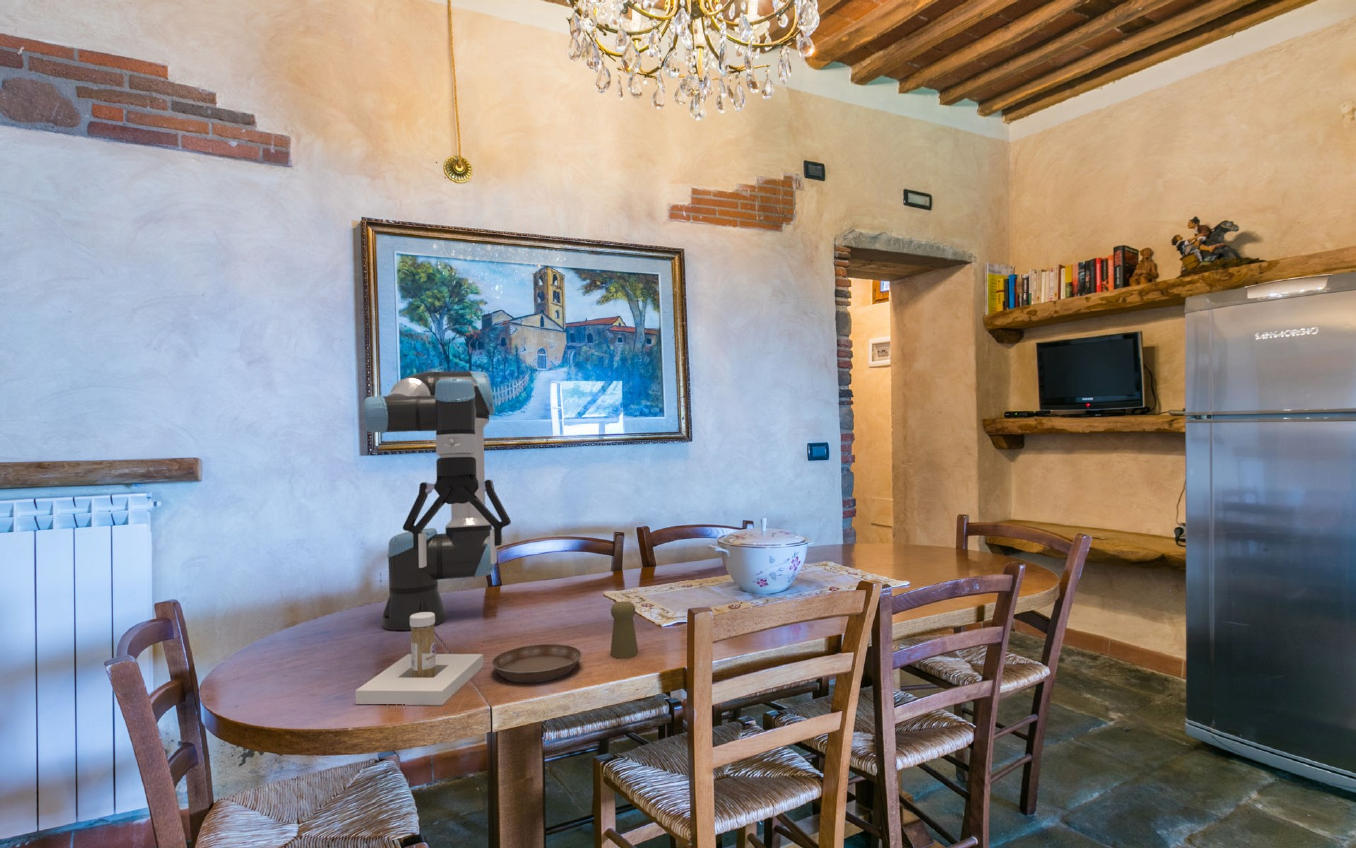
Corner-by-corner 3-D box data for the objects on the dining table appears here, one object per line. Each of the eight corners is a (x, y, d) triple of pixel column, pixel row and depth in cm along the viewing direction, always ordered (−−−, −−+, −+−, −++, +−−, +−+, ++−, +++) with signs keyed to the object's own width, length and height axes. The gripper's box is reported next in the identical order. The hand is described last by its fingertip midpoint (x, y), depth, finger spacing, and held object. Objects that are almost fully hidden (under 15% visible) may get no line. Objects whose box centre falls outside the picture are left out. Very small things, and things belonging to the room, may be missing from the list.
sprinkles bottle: (435, 687, 132) (433, 616, 132) (409, 689, 131) (407, 618, 131) (437, 678, 137) (436, 610, 137) (413, 681, 136) (411, 612, 136)
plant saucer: (486, 665, 145) (486, 650, 145) (569, 652, 152) (569, 638, 152) (499, 694, 128) (499, 677, 128) (592, 678, 135) (592, 662, 135)
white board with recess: (408, 666, 144) (408, 654, 144) (483, 666, 143) (483, 654, 143) (355, 704, 125) (355, 690, 125) (442, 705, 123) (441, 691, 123)
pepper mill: (616, 660, 145) (615, 607, 145) (605, 652, 150) (604, 601, 150) (643, 655, 147) (641, 603, 147) (631, 647, 153) (630, 597, 153)
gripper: (385, 458, 133) (386, 571, 132) (517, 453, 135) (520, 563, 134) (397, 459, 140) (398, 566, 139) (522, 454, 143) (525, 559, 141)
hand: (458, 565), depth 136 cm, fingers open, 13 cm apart
